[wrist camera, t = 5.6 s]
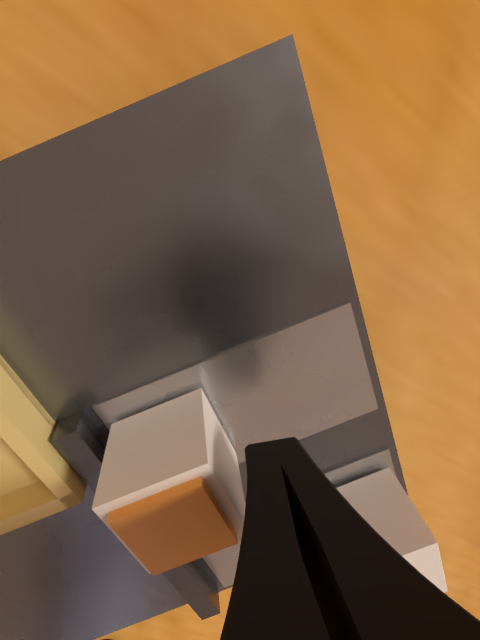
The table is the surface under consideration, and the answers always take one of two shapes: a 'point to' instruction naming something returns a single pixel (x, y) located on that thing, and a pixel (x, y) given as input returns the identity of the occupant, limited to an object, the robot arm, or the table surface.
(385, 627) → the robot arm
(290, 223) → the breaker panel
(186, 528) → the breaker
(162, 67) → the table surface
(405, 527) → the block
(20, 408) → the tray
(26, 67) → the table surface
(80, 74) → the table surface
